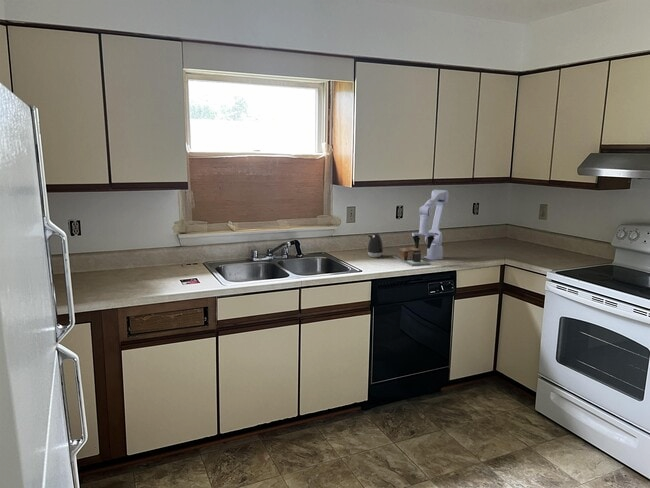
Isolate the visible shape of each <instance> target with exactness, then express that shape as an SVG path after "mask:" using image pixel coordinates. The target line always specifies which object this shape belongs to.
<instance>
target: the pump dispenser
mask: <svg viewBox="0 0 650 488" xmlns="http://www.w3.org/2000/svg"><path fill="white" fill-rule="evenodd" d="M367 237H368V238H369V241H368V244H367V248H366V249H367V250H366V251H367V254H368V256H370V257H371V258H375V259H376V258H380V257H381V256H382V255H383V253H384V246H383V245H384V244H383V241H382V238H381V235H380V234H378V233H375V232H374V233H373V234H372V235H370V234H369V235H368V236H367Z"/></svg>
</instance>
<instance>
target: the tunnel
mask: <svg viewBox="0 0 650 488" xmlns="http://www.w3.org/2000/svg"><path fill="white" fill-rule="evenodd" d="M410 251H414V253H421V252H422V251H421V249H419V248H416V246H414V247H413V246H411V247H399V248H398V250H397V255H398V258H400V259H402V260H405V255H406V252H410ZM421 254H422V253H421Z"/></svg>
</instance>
